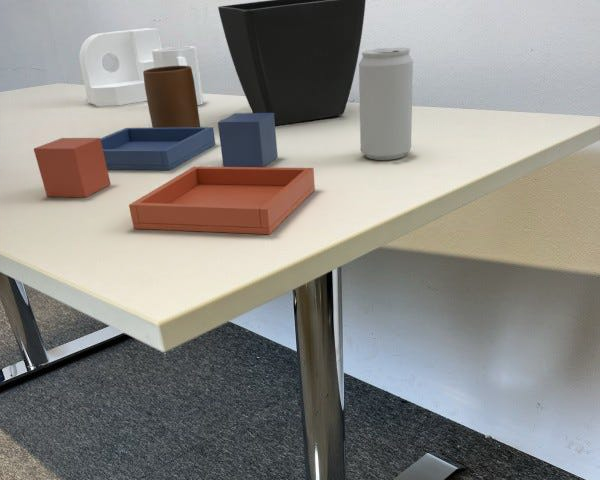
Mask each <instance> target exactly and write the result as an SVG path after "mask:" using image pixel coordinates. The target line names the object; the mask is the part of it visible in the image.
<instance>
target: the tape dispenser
mask: <svg viewBox="0 0 600 480" xmlns="http://www.w3.org/2000/svg"><path fill="white" fill-rule="evenodd" d="M161 48H163V46H162V40H161V35H160V28H156V27H155V28H154V27H153V28H152V27H145V28H135V29H126V30H117V31H109V32H108V31H107V32H99V33H94V34H92V35H90V36H89V37H87V38H86V39H85V40H84V41H83V43H82V45H81V47H80V48H79V56H78V61H79V67H80V72H81V76H82V79H83V84H84V89H85V93H86V98H87V101H88V103H89V104H91V105H94V106H96V107H111V106H123V105H131V104H137V103H142V102H147V96H146V91H145V85H144V75H143V71H145V70H148V69H152V68H155V67H154V61H153V55H152V51H153V50H155V49H161ZM107 54H108V55H109V56H110V57H111V59H112V66H111V68H110V69H108V70H106V69H105V68H104V66H103V58H104V57H105V56H106V55H107Z"/></svg>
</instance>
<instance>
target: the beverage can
mask: <svg viewBox="0 0 600 480" xmlns="http://www.w3.org/2000/svg"><path fill="white" fill-rule="evenodd" d="M410 53H411V48H408V47H388V48H387V47H386V48H375V49H369V50H364V51H361V55H362V58H361V60H360V61H359V63H358V76H359V77H358V79H359V80H358V84H359V85H358V86H359V132H360V133H359V135H360V140H359V141H360V152H361V153H362V154H364V156H366V158H367V159H369V160H375V161H392V160H398V159H401V158H404V157H405V156H406V155H407V153H408V152H410V151H411V149H412V128H413V126H412V125H413V124H412V121H413V81H414V80H413V78H414V77H413V75H414V74H413V73H414V69H413V68H414V60H413V58H412V56H411V55H410Z"/></svg>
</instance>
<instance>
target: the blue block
mask: <svg viewBox="0 0 600 480" xmlns="http://www.w3.org/2000/svg"><path fill="white" fill-rule="evenodd" d="M217 126H218V135H219V142H220V150H221V151H220V152H221V158H222V165H223V166H222V167H266V166H268V165H269V164H271V163H272V162H273V161H275V160H276V159H278V158H279V157H278V155H279V154H278V145H277V134H276V125H275V119H274V113H253V112H245V113H244V112H240V113H239V112H237V113H233V114H231V115H229V116H227V117H225V118H223V119H221V120H219V121H217Z"/></svg>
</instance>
